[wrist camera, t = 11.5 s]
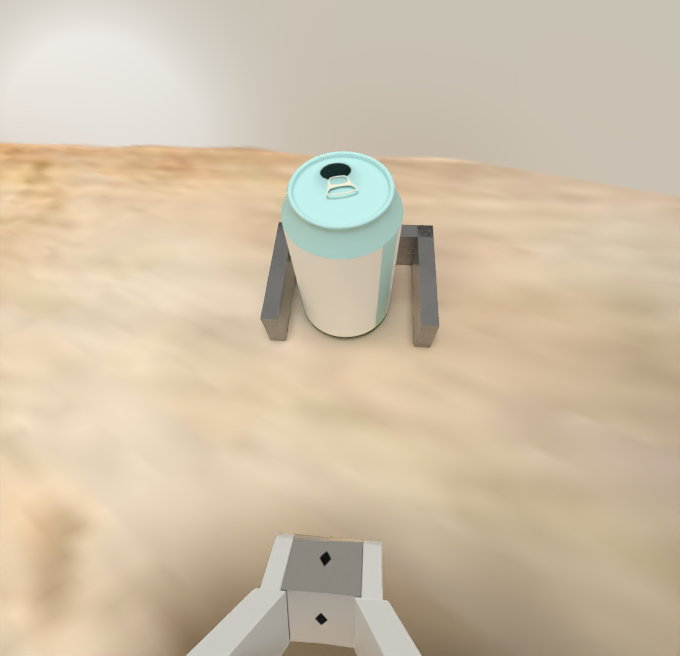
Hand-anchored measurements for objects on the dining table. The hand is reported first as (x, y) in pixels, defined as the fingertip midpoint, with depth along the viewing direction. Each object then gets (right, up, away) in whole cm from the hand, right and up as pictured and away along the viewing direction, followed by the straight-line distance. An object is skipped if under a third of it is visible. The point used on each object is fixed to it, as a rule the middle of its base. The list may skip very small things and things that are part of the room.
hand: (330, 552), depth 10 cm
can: (+1, +8, +20) cm, 22 cm away
